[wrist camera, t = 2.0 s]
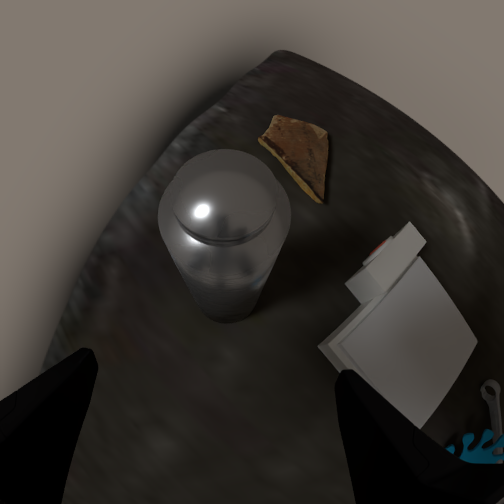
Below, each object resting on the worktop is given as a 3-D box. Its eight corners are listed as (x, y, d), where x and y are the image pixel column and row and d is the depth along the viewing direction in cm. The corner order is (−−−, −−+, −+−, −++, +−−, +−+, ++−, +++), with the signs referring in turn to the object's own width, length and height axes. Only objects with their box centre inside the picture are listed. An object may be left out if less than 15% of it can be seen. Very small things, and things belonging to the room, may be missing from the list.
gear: (449, 426, 17) (528, 433, 10) (450, 417, 21) (517, 423, 14) (404, 514, 14) (479, 524, 7) (414, 494, 18) (479, 503, 11)
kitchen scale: (393, 436, 18) (419, 444, 14) (295, 319, 22) (309, 310, 18) (462, 342, 22) (489, 335, 18) (385, 237, 25) (406, 217, 22)
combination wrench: (497, 382, 17) (502, 496, 10) (502, 375, 17) (507, 489, 10) (474, 384, 20) (485, 492, 13) (480, 378, 21) (490, 486, 14)
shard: (318, 210, 26) (324, 201, 25) (242, 191, 27) (243, 180, 25) (326, 138, 31) (330, 127, 29) (265, 122, 31) (266, 111, 29)
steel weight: (220, 336, 21) (204, 293, 8) (183, 286, 22) (126, 179, 9) (270, 298, 22) (328, 204, 9) (232, 252, 24) (239, 120, 10)
